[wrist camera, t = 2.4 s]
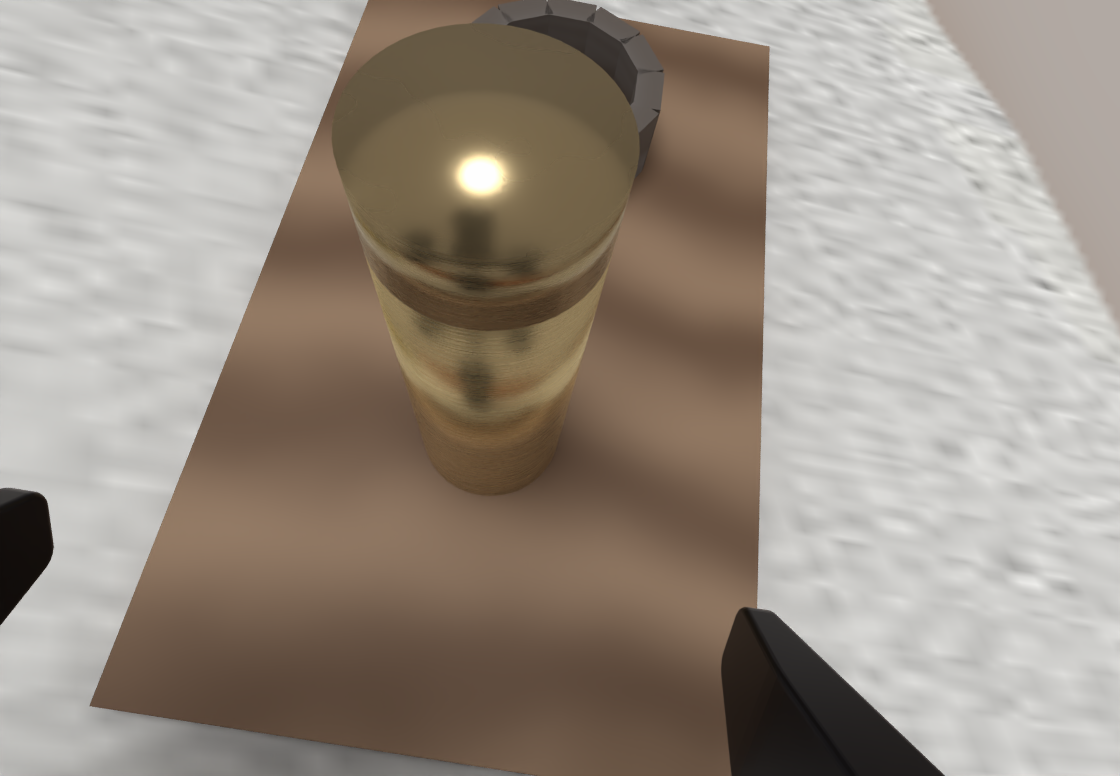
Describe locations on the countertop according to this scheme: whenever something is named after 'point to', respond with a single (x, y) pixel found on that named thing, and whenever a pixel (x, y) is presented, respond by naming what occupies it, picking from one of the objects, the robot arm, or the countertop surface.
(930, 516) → the countertop surface
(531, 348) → the brass fitting
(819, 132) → the countertop surface
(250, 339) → the board
